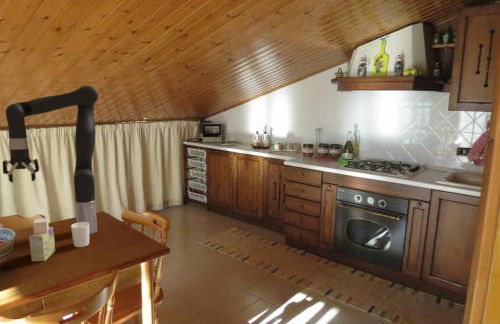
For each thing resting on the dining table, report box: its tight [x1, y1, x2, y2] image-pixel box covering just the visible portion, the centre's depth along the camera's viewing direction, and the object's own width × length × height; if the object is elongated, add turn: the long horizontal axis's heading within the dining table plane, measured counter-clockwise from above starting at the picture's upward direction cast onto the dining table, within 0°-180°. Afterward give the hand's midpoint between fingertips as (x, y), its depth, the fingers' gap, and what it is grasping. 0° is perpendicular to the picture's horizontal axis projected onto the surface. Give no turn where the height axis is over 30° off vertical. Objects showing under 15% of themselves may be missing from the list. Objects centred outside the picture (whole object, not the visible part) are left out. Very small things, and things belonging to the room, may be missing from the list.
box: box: [28, 226, 56, 262], centre depth 160 cm, size 10×6×12 cm, turn 5°
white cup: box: [70, 222, 90, 248], centre depth 173 cm, size 8×8×10 cm
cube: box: [32, 217, 50, 234], centre depth 158 cm, size 5×5×5 cm
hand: (22, 181), depth 170 cm, fingers open, 8 cm apart
